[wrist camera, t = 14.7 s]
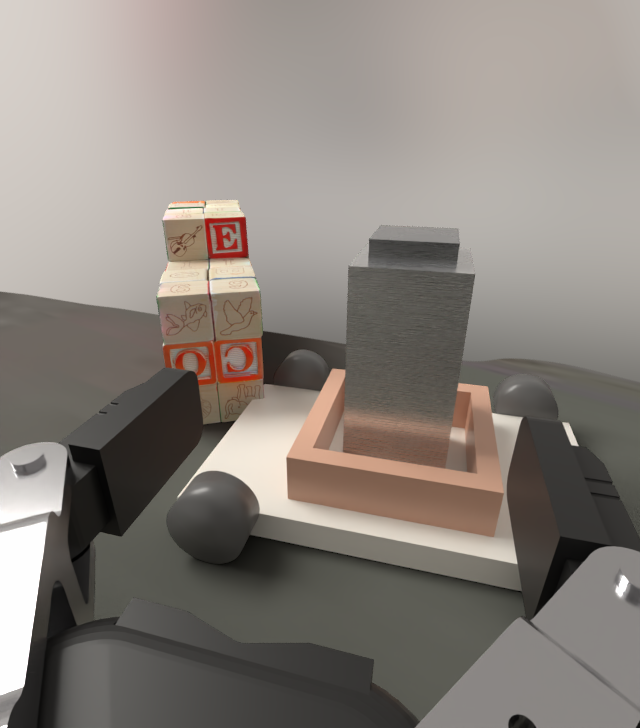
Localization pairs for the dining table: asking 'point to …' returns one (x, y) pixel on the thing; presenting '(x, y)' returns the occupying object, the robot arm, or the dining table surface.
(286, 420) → the chassis
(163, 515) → the dining table surface
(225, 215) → the stack of blocks
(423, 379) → the grey tall block
